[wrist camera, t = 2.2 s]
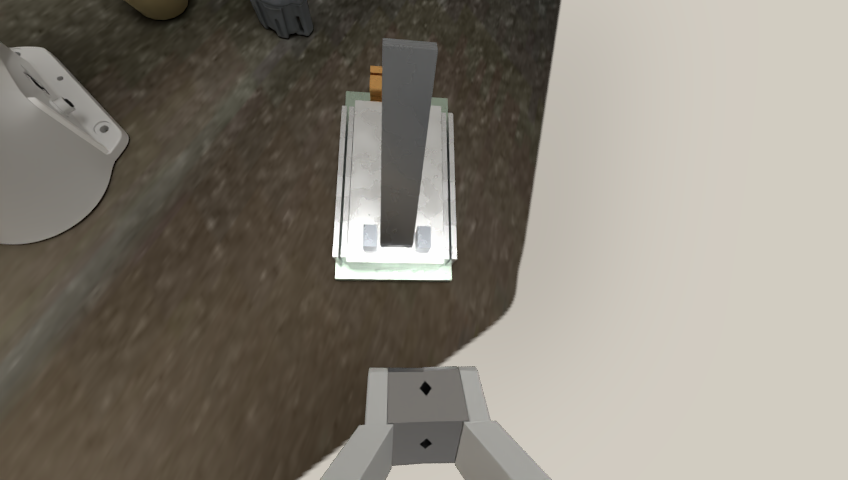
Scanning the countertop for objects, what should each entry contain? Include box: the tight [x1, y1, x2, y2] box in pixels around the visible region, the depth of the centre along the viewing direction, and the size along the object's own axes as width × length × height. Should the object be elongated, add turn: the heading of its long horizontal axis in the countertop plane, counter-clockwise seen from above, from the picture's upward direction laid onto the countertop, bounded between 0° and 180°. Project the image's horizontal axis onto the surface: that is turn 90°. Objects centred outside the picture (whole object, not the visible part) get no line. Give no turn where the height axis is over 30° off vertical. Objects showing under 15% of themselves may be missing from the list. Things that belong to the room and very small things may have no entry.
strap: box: [380, 38, 438, 246], centre depth 26 cm, size 18×3×1 cm
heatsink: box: [332, 66, 457, 282], centre depth 36 cm, size 22×12×8 cm, turn 0°
